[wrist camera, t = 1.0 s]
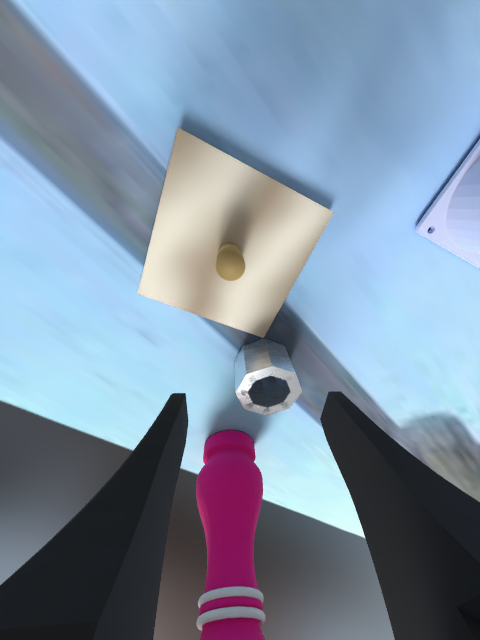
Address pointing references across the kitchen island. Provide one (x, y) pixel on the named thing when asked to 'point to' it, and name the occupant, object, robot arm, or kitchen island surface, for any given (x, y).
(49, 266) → the kitchen island surface
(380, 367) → the kitchen island surface
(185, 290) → the post block
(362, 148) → the kitchen island surface
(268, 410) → the collar
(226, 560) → the pepper mill
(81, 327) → the kitchen island surface
